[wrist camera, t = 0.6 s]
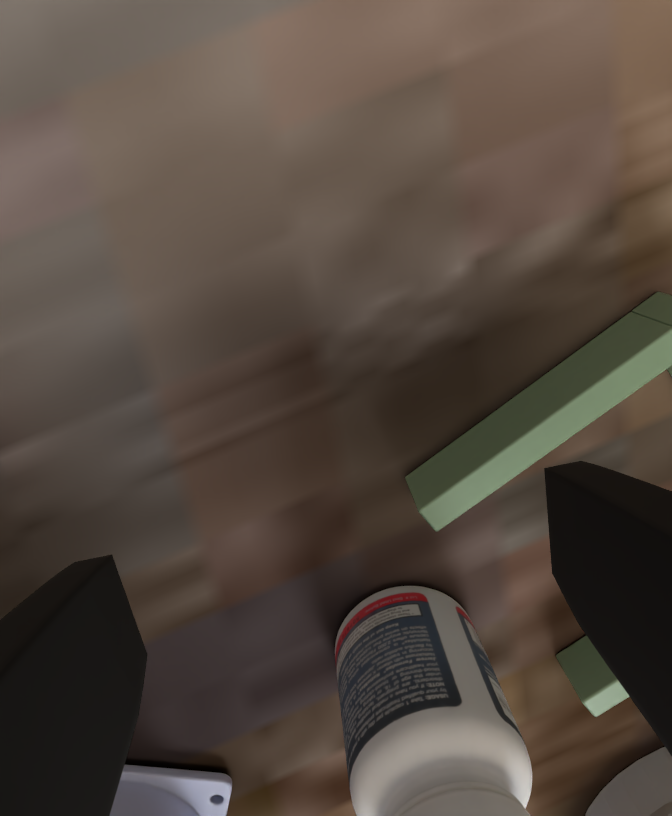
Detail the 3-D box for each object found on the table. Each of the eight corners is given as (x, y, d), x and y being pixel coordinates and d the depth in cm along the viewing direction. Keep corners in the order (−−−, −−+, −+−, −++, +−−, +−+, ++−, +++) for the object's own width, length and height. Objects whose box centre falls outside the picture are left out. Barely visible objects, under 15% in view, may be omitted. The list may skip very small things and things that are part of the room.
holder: (567, 669, 24) (595, 719, 22) (403, 476, 21) (417, 511, 19) (794, 524, 23) (850, 560, 21) (657, 290, 20) (706, 303, 17)
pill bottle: (310, 671, 24) (324, 937, 15) (371, 561, 22) (423, 789, 14) (432, 710, 25) (507, 979, 16) (498, 608, 23) (616, 845, 15)
